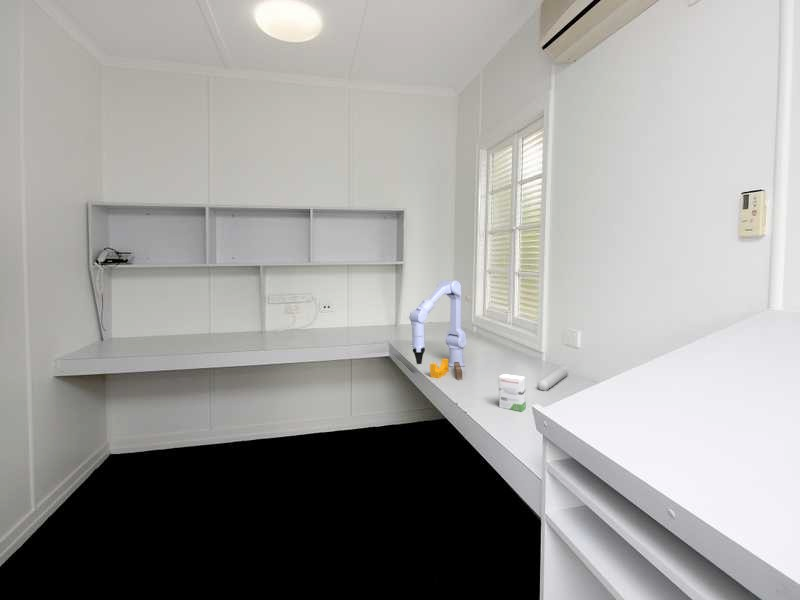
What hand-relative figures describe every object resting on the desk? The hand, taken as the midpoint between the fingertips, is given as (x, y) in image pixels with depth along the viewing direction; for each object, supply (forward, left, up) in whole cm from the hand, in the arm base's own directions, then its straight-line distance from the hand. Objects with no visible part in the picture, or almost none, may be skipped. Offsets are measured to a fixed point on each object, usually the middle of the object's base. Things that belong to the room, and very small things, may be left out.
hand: (419, 363), depth 192 cm
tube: (+16, +57, -6) cm, 60 cm away
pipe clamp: (-1, +10, -6) cm, 12 cm away
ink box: (+43, +34, -6) cm, 55 cm away
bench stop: (0, +18, -6) cm, 19 cm away
